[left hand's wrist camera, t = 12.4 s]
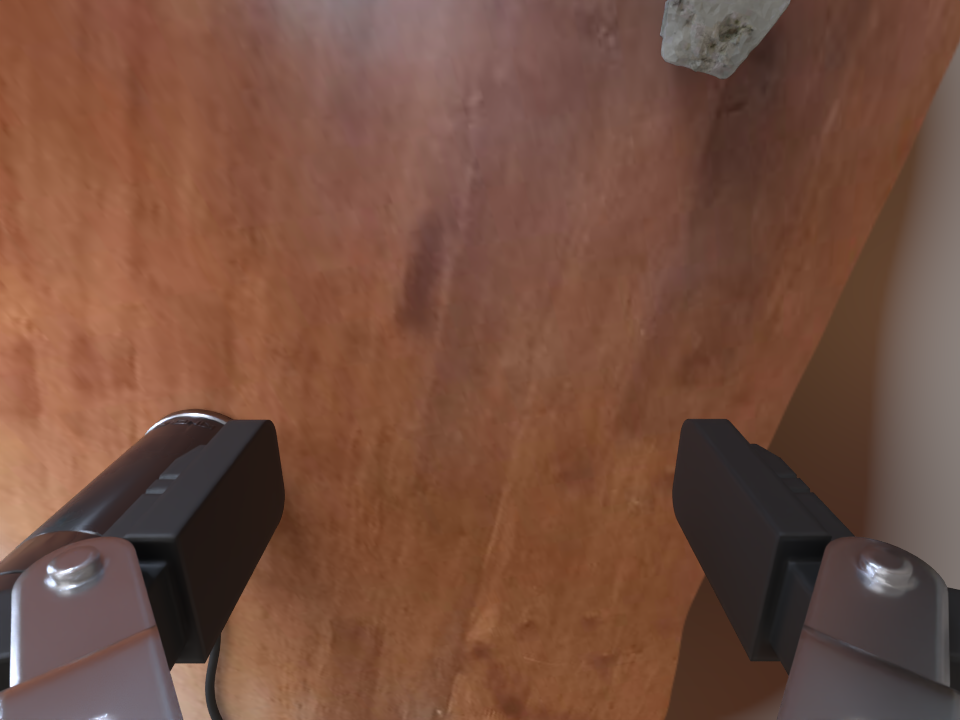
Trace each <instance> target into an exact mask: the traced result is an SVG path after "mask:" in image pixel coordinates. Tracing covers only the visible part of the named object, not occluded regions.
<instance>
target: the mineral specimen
mask: <svg viewBox="0 0 960 720" xmlns="http://www.w3.org/2000/svg"><path fill="white" fill-rule="evenodd" d="M789 3H790V0H667V1H666V3H665V11H664V16H663V21H662V27H661V32H660V36H661V37H663V41H662V49H661V55H662V57H663V59H664V60H665V62H668V63H671V64H674V65H677V66H684V67H687V68H690V69H692V70H694V71H695V72H696V71H699V72H703V73H707V74H710V75H713V76H716V77H717V78H719V79H726V78H728V77H730V76H731V75H732V74H733V73H734V72H735V71H736V69H737V68H738V66H739V65H740V64H741V63H742V62H743V61H744V60H745V59H746V58H747V57H748V55H749V53H750V52H751V51H752V50H753V49H754V48H755V47H756V46H758V44H759V43H760V42H761V40H762V39H763V38H764V37H765V35H766V34H767V33H768V32H769V30H770V29H771V28H772V27H773V25H774V24H775V23H776V22H777V20H778V19H779V17H780V16H781V15H782V14H783V12H784V11H785V10H786V8H787V7H788V5H789Z"/></svg>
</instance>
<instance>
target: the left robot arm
mask: <svg viewBox="0 0 960 720" xmlns="http://www.w3.org/2000/svg"><path fill="white" fill-rule="evenodd" d="M672 498H673V507H674V512H675V516H676V519H677V521H678V523H679V525H680V527H681V529H682V530H683V532H684V534H685V536H686V538H687V540H688V542H689V544H690V546H691V548H692V550H693V552H694V553H695V555H696V557H697V559H698V561H699V563H700V565H701V567H702V569H703V571H704V573H705V575H706V577H707V578H708V580H709V582H710V584H711V586H712V588H713V590H714V592H715V594H716V596H717V598H718V600H719V601H720V603H721V605H722V607H723V609H724V611H725V613H726V615H727V617H728V619H729V621H730V622H731V624H732V626H733V628H734V630H735V632H736V634H737V636H738V638H739V640H740V642H741V644H742V646H743V647H744V649H745V651H746V653H747V655H748V657H749V659H750V661H781V663H782V665H783V667H784V668H785V670H786V672H787V674H788V675H789V678H788V681H787V685H786V689H785V692H784V696H783V699H782V703H781V706H780V710H779V713H778V717H777V720H960V590H957V589H953V588H948V587H947V586H946V584H945V582H944V580H943V579H942V578H941V577H940V575H939V574H938V573H937V572H936V571H935V570H934V569H933V568H932V567H930V566H929V565H928V564H927V563H925V562H924V561H922V560H921V559H919V558H918V557H916V556H915V555H913V554H911V553H909V552H907V551H905V550H903V549H901V548H899V547H896V546H894V545H891V544H888V543H885V542H882V541H878V540H874V539H870V538H863V537H855V536H854V535H853V534H852V533H851V532H850V531H849V529H848V528H847V527H846V526H845V525H844V524H843V523H842V522H841V521H840V520H839V519H838V518H837V517H836V516H835V515H834V514H833V513H832V512H831V511H830V510H829V508H828V507H827V506H826V505H825V504H824V503H823V502H822V501H821V500H820V499H819V498H818V497H817V496H816V495H815V494H814V493H813V492H810V489H809V487H808V486H807V485H806V484H805V483H804V482H803V481H802V480H801V479H800V478H797V477H796V474H795V473H794V472H793V471H792V470H791V468H790V467H789V466H788V465H787V464H786V463H785V462H784V461H783V460H782V459H781V458H780V457H778V456H776V455H774V454H773V453H771V452H769V451H768V450H766V449H764V448H762V447H761V446H759V445H757V444H750V443H749V442H748V441H747V440H746V439H745V438H744V437H743V436H742V434H741V433H740V432H739V431H738V430H737V429H736V428H735V427H734V426H733V424H732V423H731V422H730V421H729V420H727V419H687V420H685V421H684V423H683V425H682V428H681V434H680V440H679V447H678V454H677V461H676V468H675V475H674V482H673V490H672ZM284 500H285V490H284V483H283V476H282V469H281V462H280V455H279V449H278V442H277V435H276V430H275V426H274V424H273V423H272V421H270V420H232V419H231V418H229V417H226V416H224V415H222V414H219V413H216V412H212V411H208V410H200V409H189V410H182V411H178V412H175V413H172V414H170V415H167V416H166V417H164V418H162V419H161V420H160V421H158V422H157V423H156V424H155V425H154V426H153V427H151V428H150V429H149V430H148V432H147V433H146V434H145V436H143V437H142V438H141V439H140V440H139V441H138V442H137V443H135V444H134V445H133V446H132V447H131V448H129V449H128V450H127V451H126V452H125V453H124V454H122V455H121V456H120V457H119V458H118V459H117V460H116V461H114V462H113V463H112V464H111V465H110V466H109V467H108V468H106V469H105V470H104V471H103V472H102V473H101V474H100V475H98V476H97V477H96V478H95V479H94V480H93V481H92V482H90V483H89V484H88V485H87V486H86V487H85V488H84V489H82V490H81V491H80V492H79V493H78V494H77V495H76V496H74V497H73V498H72V499H71V500H70V501H69V502H68V503H66V504H65V505H64V506H63V507H62V508H61V509H60V510H58V511H57V512H56V513H55V514H54V515H53V516H52V517H50V518H49V519H48V520H47V521H46V522H45V523H44V524H42V525H41V526H40V527H39V528H38V529H37V530H36V531H34V532H33V533H32V534H31V535H30V536H29V537H28V538H26V539H25V540H24V541H23V542H22V543H21V544H20V545H18V546H17V547H16V548H15V549H14V550H13V551H12V552H11V553H10V554H8V555H7V556H6V557H5V558H4V559H3V560H2V561H0V720H183V717H182V713H181V710H180V706H179V703H178V699H177V696H176V692H175V688H174V685H173V681H172V678H171V674H170V671H171V669H172V667H173V666H174V664H175V663H205V662H206V660H207V658H208V657H209V655H210V657H209V663H208V668H207V674H206V683H205V695H206V703H207V707H208V711H209V714H210V716H211V719H212V720H222V718H221V715H220V713H219V710H218V708H217V704H216V699H215V690H214V682H215V673H216V668H217V662H218V657H219V651H220V642H221V632H222V630H223V628H224V626H225V624H226V622H227V621H228V619H229V617H230V615H231V613H232V611H233V609H234V607H235V605H236V603H237V602H238V600H239V598H240V596H241V594H242V592H243V590H244V588H245V586H246V584H247V583H248V581H249V579H250V577H251V575H252V573H253V571H254V569H255V567H256V566H257V564H258V562H259V560H260V558H261V556H262V554H263V552H264V550H265V548H266V547H267V545H268V543H269V541H270V539H271V537H272V535H273V533H274V531H275V530H276V528H277V526H278V524H279V522H280V520H281V517H282V513H283V508H284Z"/></svg>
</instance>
